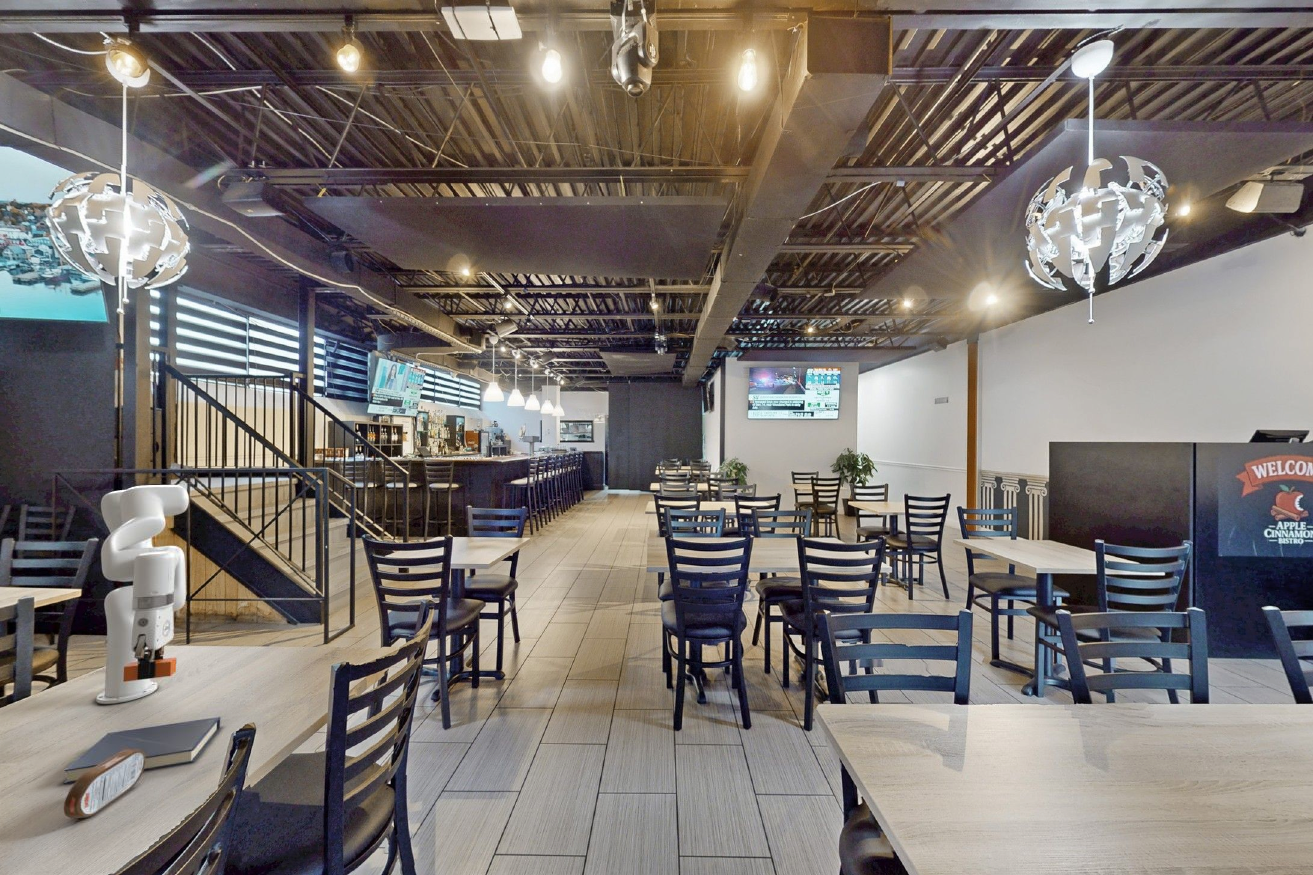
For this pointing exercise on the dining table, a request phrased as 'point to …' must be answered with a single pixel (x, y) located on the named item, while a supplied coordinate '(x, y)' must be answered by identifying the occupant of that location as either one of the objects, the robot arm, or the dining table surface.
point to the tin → (104, 783)
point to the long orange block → (162, 670)
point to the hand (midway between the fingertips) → (150, 674)
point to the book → (150, 745)
